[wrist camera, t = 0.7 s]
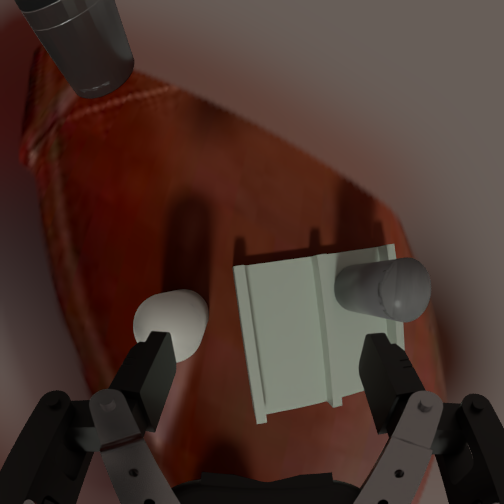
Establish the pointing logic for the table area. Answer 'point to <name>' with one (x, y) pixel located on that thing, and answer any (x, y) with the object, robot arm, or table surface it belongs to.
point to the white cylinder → (174, 320)
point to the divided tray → (304, 330)
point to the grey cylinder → (385, 289)
